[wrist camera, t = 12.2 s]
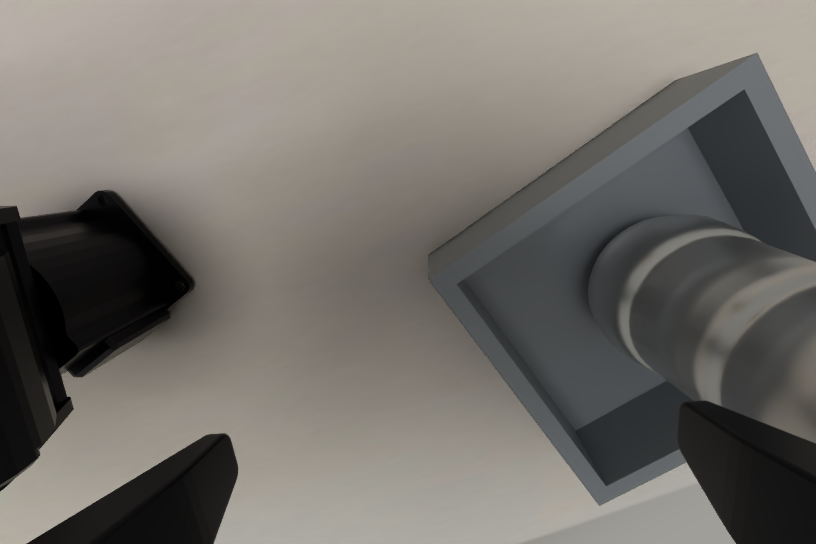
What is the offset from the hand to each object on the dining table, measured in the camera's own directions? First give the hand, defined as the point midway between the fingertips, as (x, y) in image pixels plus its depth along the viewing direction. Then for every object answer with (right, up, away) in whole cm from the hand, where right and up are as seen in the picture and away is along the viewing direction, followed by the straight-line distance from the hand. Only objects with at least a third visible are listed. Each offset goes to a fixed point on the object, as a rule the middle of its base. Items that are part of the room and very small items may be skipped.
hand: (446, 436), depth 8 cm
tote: (+10, +3, +12) cm, 16 cm away
